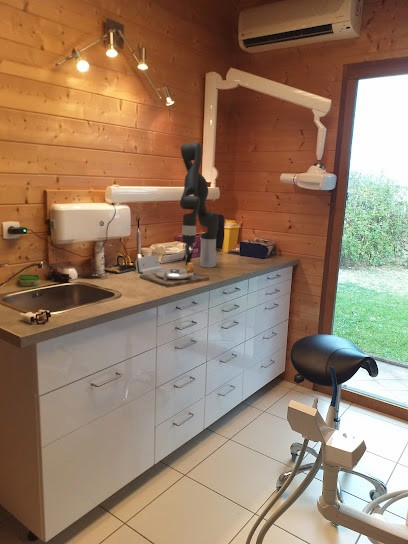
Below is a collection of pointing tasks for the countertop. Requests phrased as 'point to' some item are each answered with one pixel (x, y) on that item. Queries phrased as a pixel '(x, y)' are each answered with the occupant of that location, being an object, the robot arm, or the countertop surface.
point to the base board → (172, 282)
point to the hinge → (148, 264)
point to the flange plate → (177, 272)
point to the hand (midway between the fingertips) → (187, 265)
